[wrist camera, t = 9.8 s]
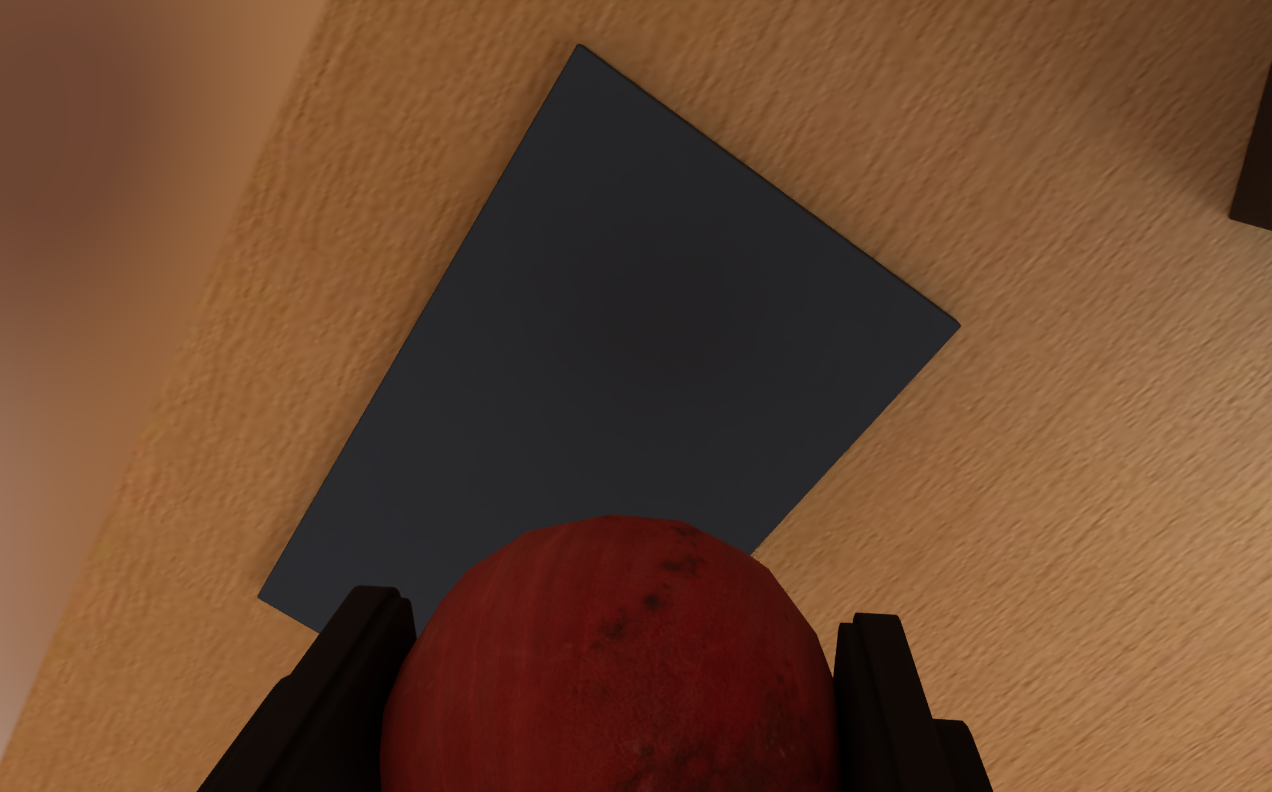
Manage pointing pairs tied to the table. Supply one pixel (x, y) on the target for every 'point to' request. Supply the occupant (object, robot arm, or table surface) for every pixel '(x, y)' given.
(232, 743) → the robot arm
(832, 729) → the pomegranate
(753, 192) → the mat
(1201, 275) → the table surface
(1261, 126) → the grey legged box
